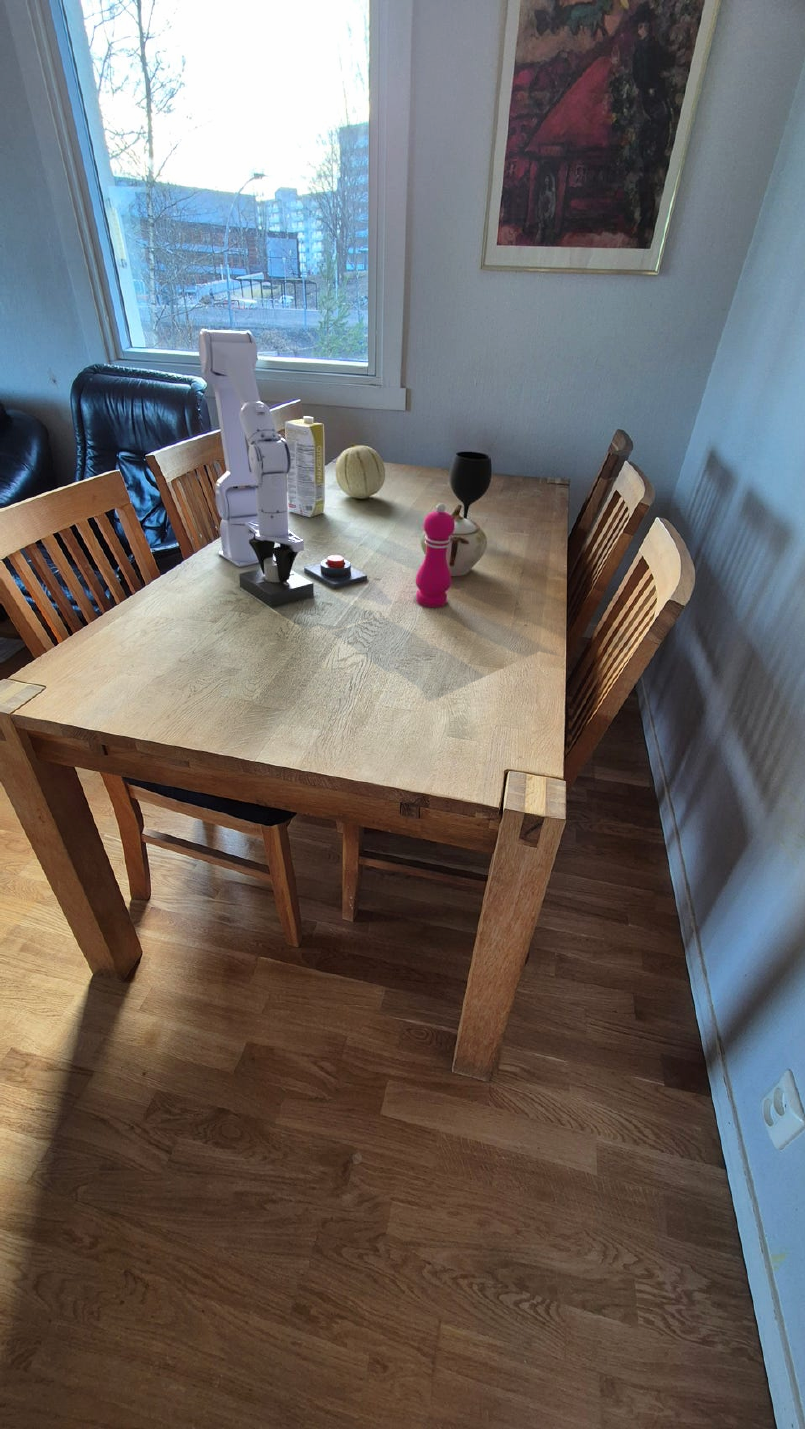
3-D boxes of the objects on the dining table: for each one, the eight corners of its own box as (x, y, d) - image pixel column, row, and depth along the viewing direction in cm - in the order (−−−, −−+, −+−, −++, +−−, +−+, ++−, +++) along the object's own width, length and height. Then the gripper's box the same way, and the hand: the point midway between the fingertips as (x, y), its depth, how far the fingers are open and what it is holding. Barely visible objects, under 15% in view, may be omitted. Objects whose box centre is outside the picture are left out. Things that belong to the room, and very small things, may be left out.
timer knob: (260, 576, 124) (259, 558, 122) (279, 572, 127) (278, 554, 125) (272, 584, 122) (271, 565, 120) (291, 579, 124) (290, 560, 122)
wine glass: (438, 537, 160) (446, 456, 149) (450, 526, 168) (459, 448, 157) (476, 544, 158) (487, 463, 146) (486, 533, 166) (498, 454, 154)
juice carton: (328, 512, 171) (328, 418, 157) (310, 519, 165) (308, 422, 151) (302, 505, 174) (300, 412, 161) (283, 511, 169) (280, 416, 155)
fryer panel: (240, 587, 127) (238, 572, 125) (281, 577, 133) (280, 563, 131) (271, 608, 120) (270, 593, 118) (313, 596, 126) (313, 582, 124)
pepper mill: (452, 597, 130) (464, 502, 118) (443, 611, 124) (454, 511, 113) (419, 591, 131) (428, 496, 120) (409, 604, 126) (417, 505, 114)
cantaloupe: (383, 506, 179) (385, 452, 170) (332, 502, 178) (332, 447, 170) (384, 492, 191) (387, 440, 182) (337, 488, 190) (338, 436, 182)
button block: (304, 572, 135) (303, 559, 134) (336, 564, 141) (336, 551, 139) (334, 589, 129) (334, 576, 127) (367, 580, 134) (367, 567, 133)
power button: (323, 563, 133) (323, 557, 132) (337, 560, 135) (337, 553, 135) (333, 569, 131) (333, 562, 130) (347, 565, 133) (347, 559, 132)
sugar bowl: (483, 589, 135) (494, 521, 126) (415, 583, 135) (421, 514, 126) (481, 557, 151) (490, 494, 142) (420, 551, 151) (426, 488, 142)
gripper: (230, 503, 117) (236, 571, 125) (283, 522, 110) (286, 592, 118) (258, 496, 122) (263, 562, 130) (311, 514, 115) (312, 582, 123)
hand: (275, 576), depth 124 cm, fingers closed on timer knob, 4 cm apart
